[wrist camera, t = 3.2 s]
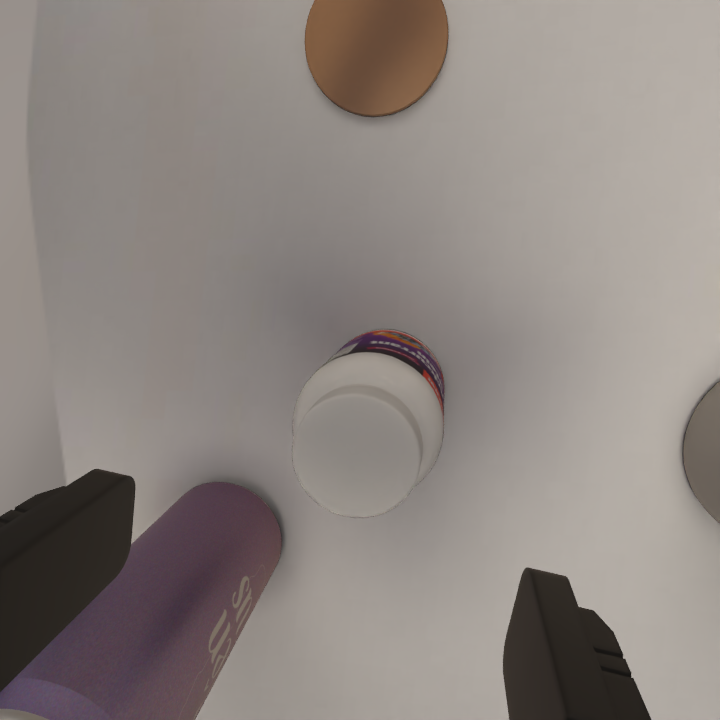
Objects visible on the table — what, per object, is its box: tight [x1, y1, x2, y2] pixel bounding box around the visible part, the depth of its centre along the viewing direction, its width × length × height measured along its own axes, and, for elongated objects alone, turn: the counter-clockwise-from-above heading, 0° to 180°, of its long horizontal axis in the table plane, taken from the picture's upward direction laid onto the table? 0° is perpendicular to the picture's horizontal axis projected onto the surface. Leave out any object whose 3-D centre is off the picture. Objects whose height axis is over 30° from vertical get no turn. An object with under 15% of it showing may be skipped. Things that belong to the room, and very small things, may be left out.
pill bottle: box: [292, 329, 444, 518], centre depth 22 cm, size 5×5×10 cm
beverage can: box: [0, 482, 282, 720], centre depth 22 cm, size 6×6×15 cm
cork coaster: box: [305, 0, 448, 117], centre depth 23 cm, size 6×6×1 cm
